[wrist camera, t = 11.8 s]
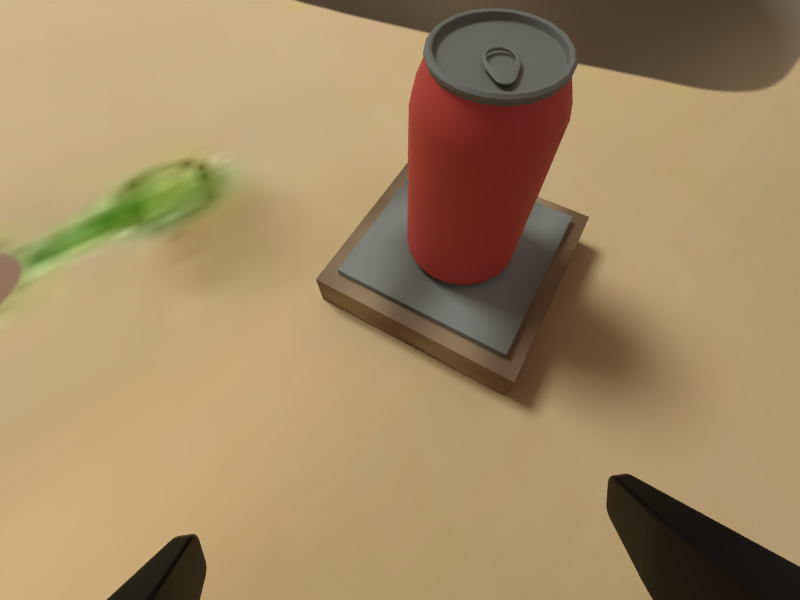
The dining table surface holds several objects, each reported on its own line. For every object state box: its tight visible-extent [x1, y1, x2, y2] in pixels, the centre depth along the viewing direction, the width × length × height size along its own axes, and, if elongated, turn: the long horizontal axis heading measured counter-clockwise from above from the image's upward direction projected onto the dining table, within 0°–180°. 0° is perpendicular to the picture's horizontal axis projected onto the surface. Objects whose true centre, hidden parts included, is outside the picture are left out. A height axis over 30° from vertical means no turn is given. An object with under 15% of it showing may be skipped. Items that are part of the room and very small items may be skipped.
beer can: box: [407, 8, 578, 285], centre depth 20 cm, size 7×7×12 cm
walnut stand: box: [316, 163, 589, 395], centre depth 26 cm, size 13×13×3 cm
